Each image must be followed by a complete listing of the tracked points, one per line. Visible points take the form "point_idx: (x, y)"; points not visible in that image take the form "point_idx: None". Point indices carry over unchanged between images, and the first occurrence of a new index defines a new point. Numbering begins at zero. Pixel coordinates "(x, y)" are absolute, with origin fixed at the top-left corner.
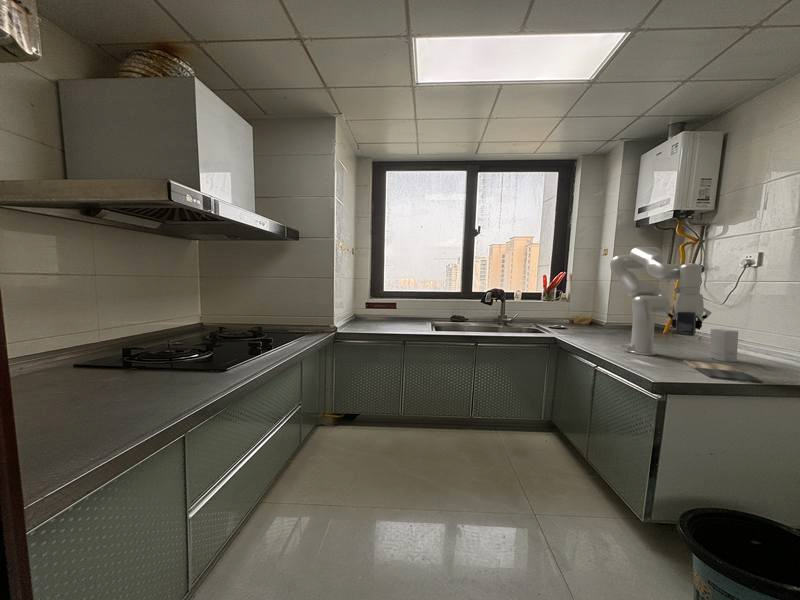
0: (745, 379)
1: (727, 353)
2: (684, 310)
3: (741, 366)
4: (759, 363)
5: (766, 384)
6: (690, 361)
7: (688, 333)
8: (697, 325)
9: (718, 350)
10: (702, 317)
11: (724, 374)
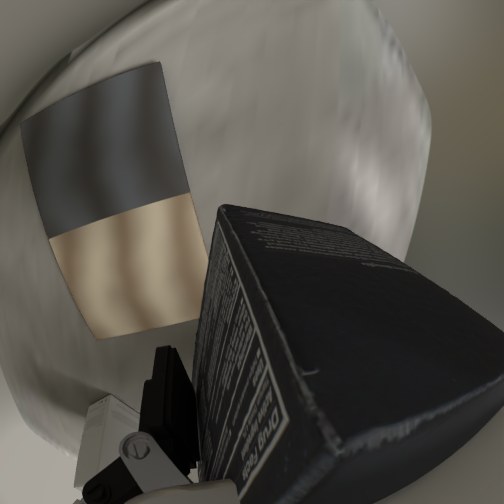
0: (57, 102)
1: (101, 417)
2: (473, 475)
3: (69, 361)
4: (56, 413)
5: (20, 118)
6: (198, 308)
7: (264, 216)
8: (182, 392)
9: (123, 430)
10: (134, 482)
11: (103, 125)
